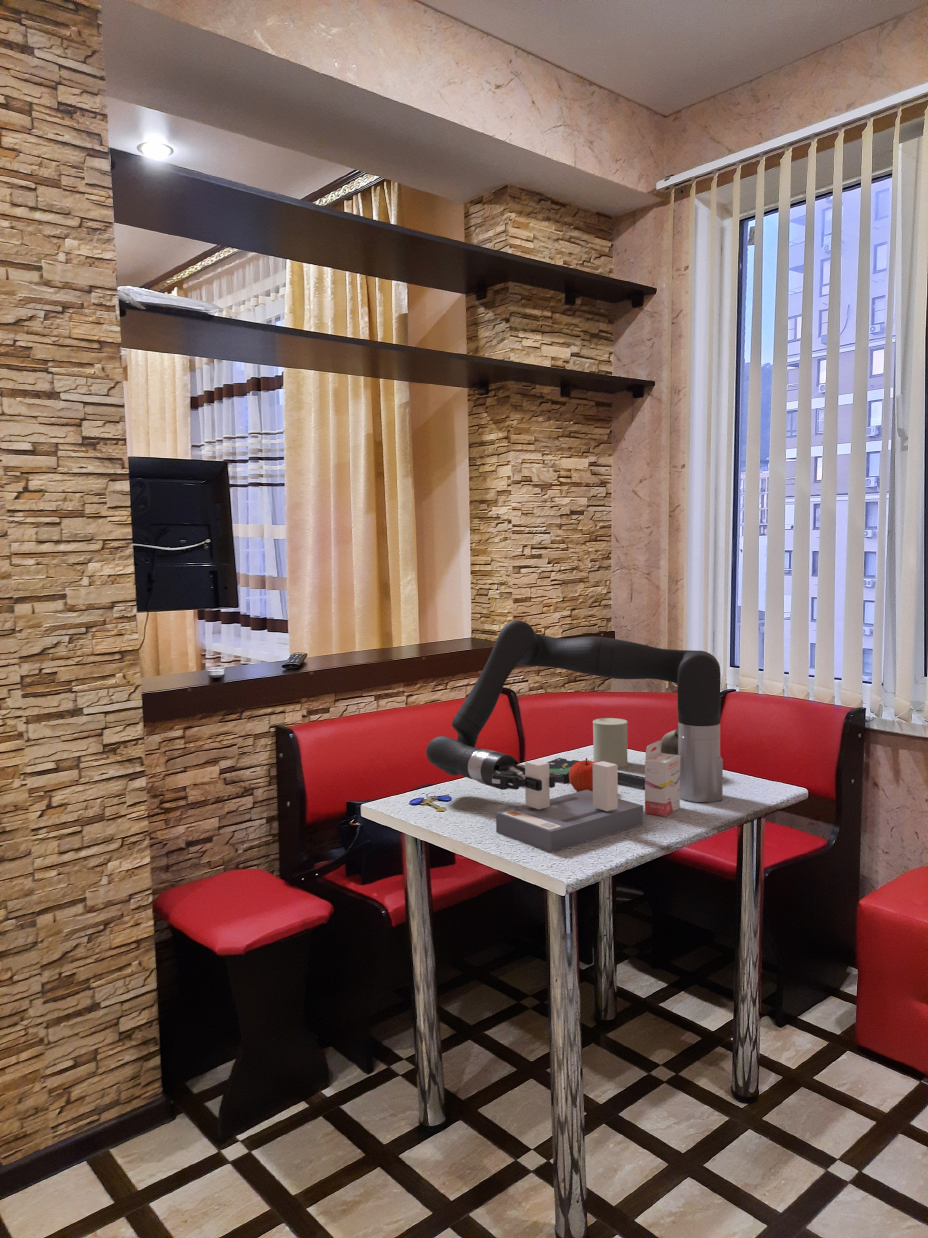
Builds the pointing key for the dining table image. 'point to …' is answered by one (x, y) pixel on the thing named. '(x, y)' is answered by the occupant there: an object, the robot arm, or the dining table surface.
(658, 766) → the ink cartridge box
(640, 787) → the phone
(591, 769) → the apple
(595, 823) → the block
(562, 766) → the disk drive
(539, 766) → the switch tab
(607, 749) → the can
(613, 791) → the switch tab
